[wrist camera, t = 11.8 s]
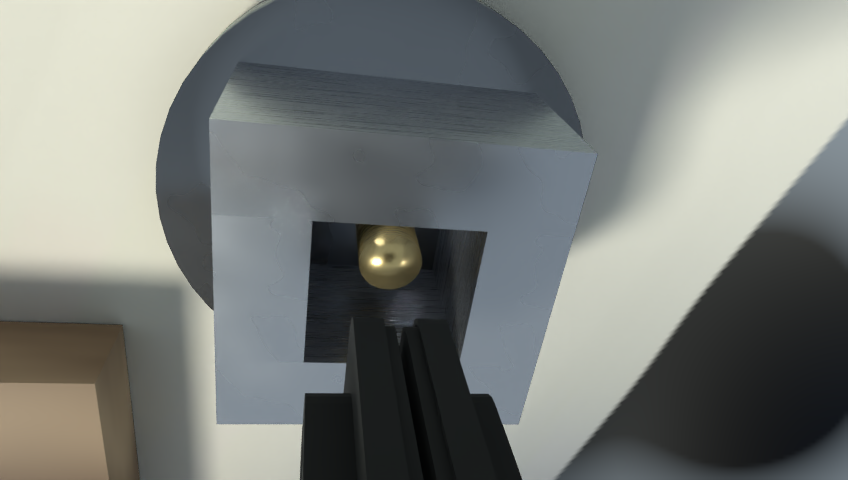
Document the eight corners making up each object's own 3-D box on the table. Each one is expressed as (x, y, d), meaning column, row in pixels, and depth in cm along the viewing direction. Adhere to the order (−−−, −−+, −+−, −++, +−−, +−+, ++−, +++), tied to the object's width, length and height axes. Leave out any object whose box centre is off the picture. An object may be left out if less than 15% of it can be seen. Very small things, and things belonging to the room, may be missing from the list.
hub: (523, 348, 21) (562, 440, 17) (177, 339, 19) (143, 442, 15) (618, 4, 15) (703, 36, 12) (153, -62, 13) (92, -45, 10)
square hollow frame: (535, 93, 15) (598, 154, 12) (482, 323, 18) (518, 424, 15) (238, 61, 14) (208, 118, 10) (239, 316, 17) (216, 423, 14)
